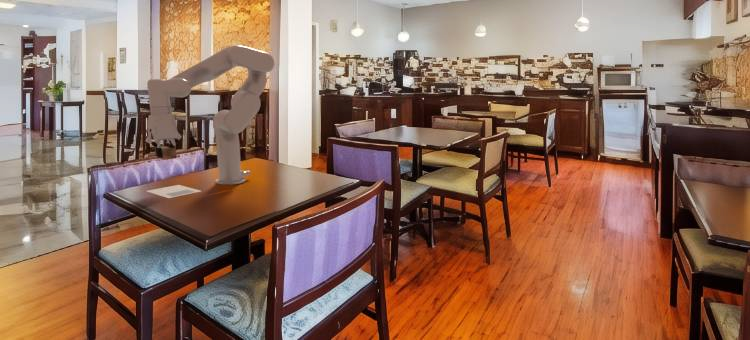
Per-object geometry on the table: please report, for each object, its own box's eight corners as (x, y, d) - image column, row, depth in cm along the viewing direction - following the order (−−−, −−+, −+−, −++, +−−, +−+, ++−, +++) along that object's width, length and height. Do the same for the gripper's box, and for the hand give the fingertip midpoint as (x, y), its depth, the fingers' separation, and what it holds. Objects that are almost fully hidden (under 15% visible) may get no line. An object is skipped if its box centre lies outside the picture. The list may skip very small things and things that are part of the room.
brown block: (166, 156, 189) (165, 146, 188) (176, 158, 184) (175, 148, 183) (155, 157, 185) (154, 148, 184) (165, 159, 180) (164, 149, 179)
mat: (178, 185, 195) (178, 184, 195) (202, 192, 184) (202, 190, 184) (145, 192, 184) (145, 190, 184) (168, 199, 173) (168, 198, 173)
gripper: (176, 109, 189) (180, 152, 193) (134, 112, 176) (140, 158, 180) (186, 109, 185) (190, 154, 188) (144, 113, 172) (149, 160, 176)
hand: (166, 156), depth 184 cm, fingers closed on brown block, 4 cm apart
